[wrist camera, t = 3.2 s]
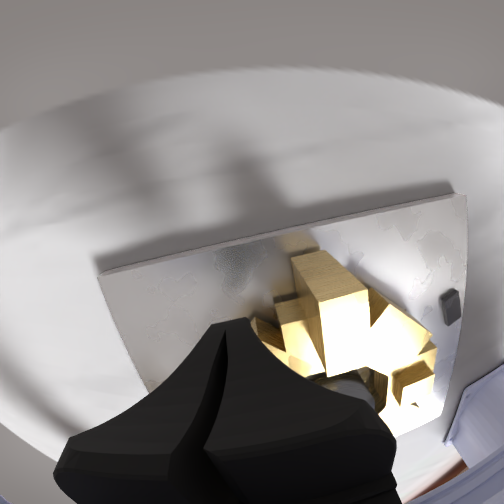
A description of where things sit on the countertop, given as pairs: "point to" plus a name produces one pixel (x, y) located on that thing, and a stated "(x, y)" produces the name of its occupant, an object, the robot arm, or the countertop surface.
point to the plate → (283, 288)
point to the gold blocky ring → (352, 336)
